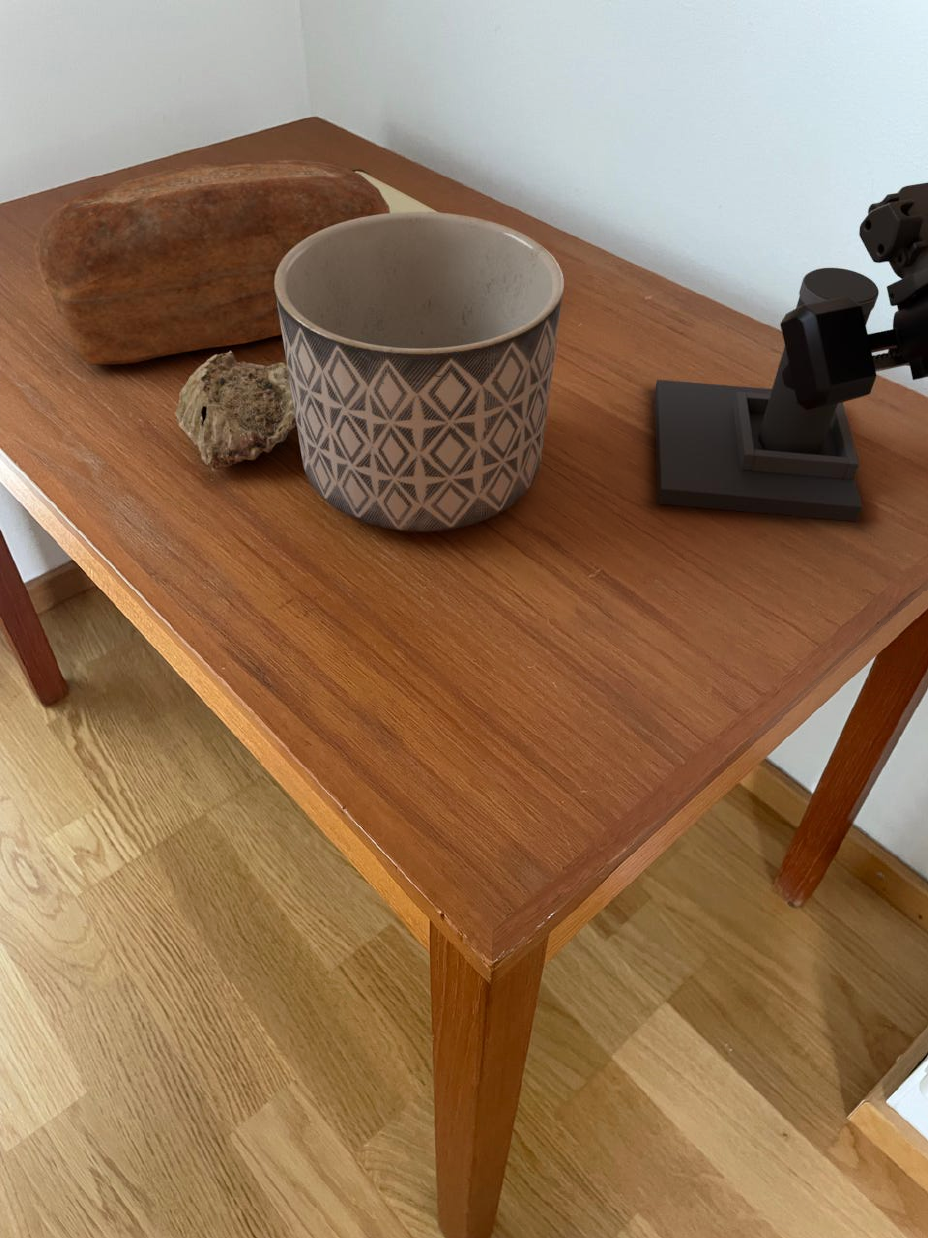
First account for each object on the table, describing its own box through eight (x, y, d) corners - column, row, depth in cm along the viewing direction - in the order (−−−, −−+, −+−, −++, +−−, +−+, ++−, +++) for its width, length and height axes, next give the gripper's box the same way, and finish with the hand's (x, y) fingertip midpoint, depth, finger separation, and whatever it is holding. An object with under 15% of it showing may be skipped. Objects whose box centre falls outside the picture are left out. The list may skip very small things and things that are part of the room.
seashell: (199, 505, 77) (305, 473, 74) (142, 443, 72) (253, 406, 69) (229, 413, 84) (327, 379, 81) (179, 350, 79) (282, 312, 76)
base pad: (828, 408, 83) (839, 378, 81) (856, 522, 73) (869, 491, 71) (654, 393, 84) (660, 363, 82) (657, 504, 74) (664, 473, 72)
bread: (409, 323, 92) (405, 179, 82) (72, 386, 83) (23, 234, 74) (369, 265, 99) (361, 127, 89) (57, 318, 91) (11, 172, 81)
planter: (285, 416, 81) (259, 223, 69) (505, 388, 84) (517, 200, 72) (319, 571, 68) (294, 368, 56) (576, 531, 72) (604, 332, 60)
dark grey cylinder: (836, 454, 76) (895, 296, 67) (780, 467, 75) (831, 308, 65) (799, 417, 80) (849, 261, 70) (744, 429, 78) (788, 272, 69)
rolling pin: (543, 310, 94) (547, 261, 90) (499, 328, 91) (502, 279, 88) (356, 195, 111) (353, 150, 107) (314, 208, 108) (310, 162, 105)
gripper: (1110, 136, 57) (920, 238, 72) (846, 177, 52) (702, 276, 67) (1146, 323, 58) (951, 385, 73) (889, 380, 53) (737, 433, 68)
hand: (838, 367), depth 70 cm, fingers open, 9 cm apart
